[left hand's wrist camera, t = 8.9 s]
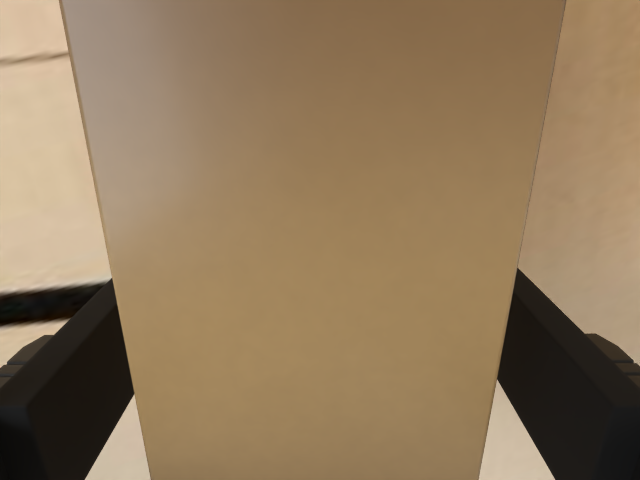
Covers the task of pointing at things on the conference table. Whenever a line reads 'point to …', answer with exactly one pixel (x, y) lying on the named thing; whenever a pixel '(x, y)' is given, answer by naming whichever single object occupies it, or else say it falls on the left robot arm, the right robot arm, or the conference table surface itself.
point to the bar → (313, 222)
